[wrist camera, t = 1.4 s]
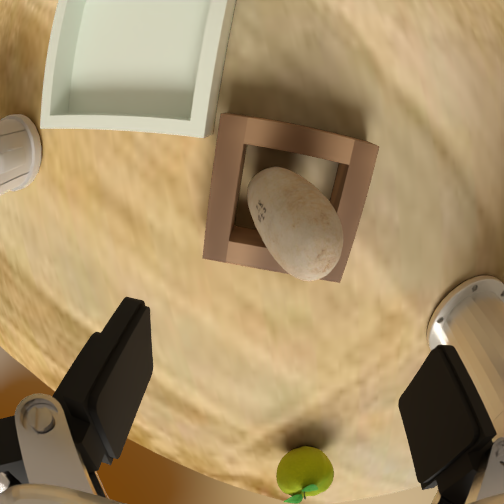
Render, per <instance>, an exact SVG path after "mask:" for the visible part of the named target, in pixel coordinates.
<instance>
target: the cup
mask: <svg viewBox="0 0 504 504" xmlns="http://www.w3.org/2000/svg"><path fill="white" fill-rule="evenodd" d="M41 149H42V148H41V142H40V136H39V134H38V131H37V129H36V126H35V125H34V123H33V122H32V121H31V120H30V119H29V118H28V117H26V116H24V115H22V114H13V115H8V116H6V117H4V118H2V119H1V120H0V195H2V194H4V193H6V192H8V191H10V190H11V191H17V190H20V189H23V188H25V187H27V186H28V185H29V184H30V183H31V182H33V181H34V179H35V177H36V175H37V173H38V171H39V167H40V163H41Z"/></svg>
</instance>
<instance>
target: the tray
mask: <svg viewBox="0 0 504 504" xmlns="http://www.w3.org/2000/svg"><path fill="white" fill-rule="evenodd" d="M235 5H236V0H58V4H57V8H56V12H55V17H54V21H53V26H52V31H51V36H50V41H49V47H48V53H47V59H46V66H45V74H44V82H43V92H42V104H41V121H40V129H103V130H123V131H138V132H151V133H162V134H172V135H182V136H191V137H199V138H205V137H207V136H210V135H212V134H213V131H214V124H215V117H216V111H217V104H218V98H219V92H220V86H221V80H222V74H223V68H224V62H225V57H226V51H227V46H228V40H229V35H230V30H231V25H232V19H233V15H234V10H235Z"/></svg>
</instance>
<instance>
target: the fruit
mask: <svg viewBox="0 0 504 504" xmlns="http://www.w3.org/2000/svg"><path fill="white" fill-rule="evenodd" d="M276 477H277V483H278V486H279V487H280V489H281V490H282V491H283V492H284V493H286V494H289V495H291V496H292V497H290V498H289V499H287V500H285V501H284V502H288V503H300V502H301V501H302V499H303V497H304V499H306V496H315V495H317V494H319V493H321V492H324V491H325V490H327V489H328V488H329V486H330V485H331V483H332V481H333V477H334V471H333V466H332V464H331V462H330V460H329V459H328V458H327V456H326V455H325V454H324V453H323V452H322V451H321V450H319V449H317V448H314V447H309V446H302V447H300V448H296V449H293V450H291V451H290V452H288V453H287V454H286V455H285V456H284V457H283V458H282V459H281V461H280V463H279V465H278V468H277V476H276Z"/></svg>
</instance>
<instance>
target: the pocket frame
mask: <svg viewBox="0 0 504 504" xmlns="http://www.w3.org/2000/svg"><path fill="white" fill-rule="evenodd" d="M247 144H249V145H255V146H261V147H266V148H272V149H277V150H283V151H288V152H293V153H298V154H303V155H308V156H312V157H317V158H322V159H326V160H330V161H335V162H339V166H338V170H337V174H336V179H335V183H334V187H333V191H332V195H331V199H330V203H331V204H332V206H333V207H334V209H335V211H336V213H337V215H338V217H339V219H340V222H341V225H342V230H343V247H342V252H341V256H340V259H339V261H338V262H337V264H336V265H335V267H334V268H333V269H332V271H331V272H330V273H329V274H328V275H326V276H325V277H323V278H321V280H327V281H333V282H339V283H340V281H341V278H342V275H343V272H344V269H345V266H346V263H347V260H348V257H349V254H350V251H351V248H352V244H353V241H354V238H355V235H356V231H357V228H358V225H359V221H360V218H361V215H362V211H363V208H364V204H365V200H366V197H367V193H368V189H369V186H370V182H371V178H372V174H373V170H374V166H375V162H376V158H377V154H378V150H379V146H377V145H375V144H372V143H370V142H367V141H364V140H360V139H357V138H353V137H349V136H345V135H341V134H337V133H333V132H329V131H324V130H320V129H316V128H311V127H306V126H302V125H297V124H292V123H287V122H281V121H276V120H270V119H264V118H258V117H252V116H246V115H239V114H232V113H223V114H221V116H220V123H219V129H218V136H217V143H216V150H215V158H214V165H213V172H212V180H211V188H210V196H209V204H208V213H207V222H206V231H205V240H204V250H203V259H209V260H214V261H219V262H225V263H230V264H236V265H241V266H247V267H253V268H258V269H264V270H269V271H275V272H281V273H286V274H289V273H288V272H287V271H286V270H284V269H283V268H282V267H281V266H280V265H279V264H278V262H277V261H276V260H275V259H274V257H273V256H272V255H271V253H270V252H269V250H268V249H267V247H266V245H265V244H264V242H263V240H262V238H261V236H260V234H259V232H258V230H255V229H250V228H244V227H239V226H234V224H235V217H236V211H237V204H238V198H239V191H240V185H241V179H242V172H243V166H244V160H245V154H246V148H247Z"/></svg>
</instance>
